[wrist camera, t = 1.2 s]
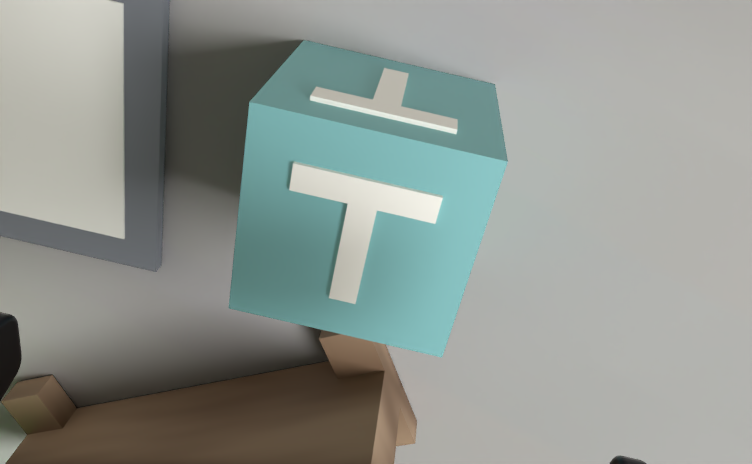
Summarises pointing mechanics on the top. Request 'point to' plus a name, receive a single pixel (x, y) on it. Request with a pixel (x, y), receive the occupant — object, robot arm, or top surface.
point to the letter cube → (365, 196)
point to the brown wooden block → (231, 417)
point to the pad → (84, 126)
